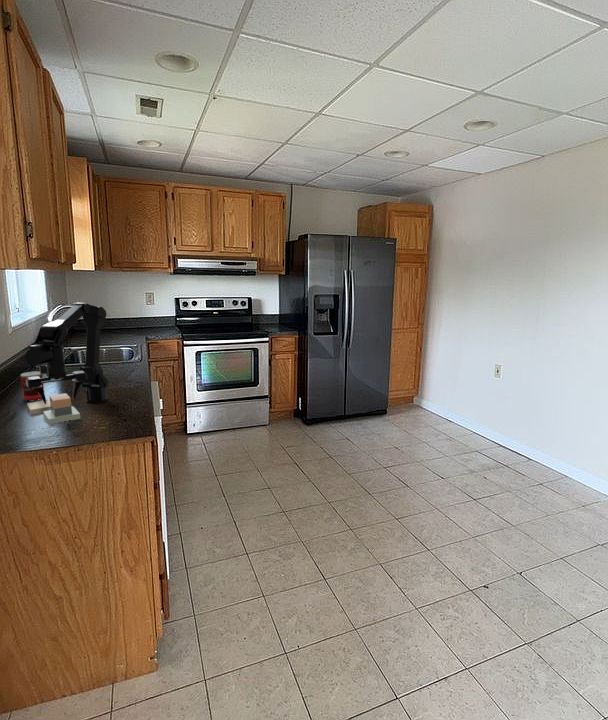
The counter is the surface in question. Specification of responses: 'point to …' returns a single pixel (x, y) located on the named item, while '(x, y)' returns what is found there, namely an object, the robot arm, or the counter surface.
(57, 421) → the stand
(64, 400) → the housing cover
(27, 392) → the canned food
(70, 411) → the housing base
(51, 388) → the counter surface
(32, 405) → the stand
